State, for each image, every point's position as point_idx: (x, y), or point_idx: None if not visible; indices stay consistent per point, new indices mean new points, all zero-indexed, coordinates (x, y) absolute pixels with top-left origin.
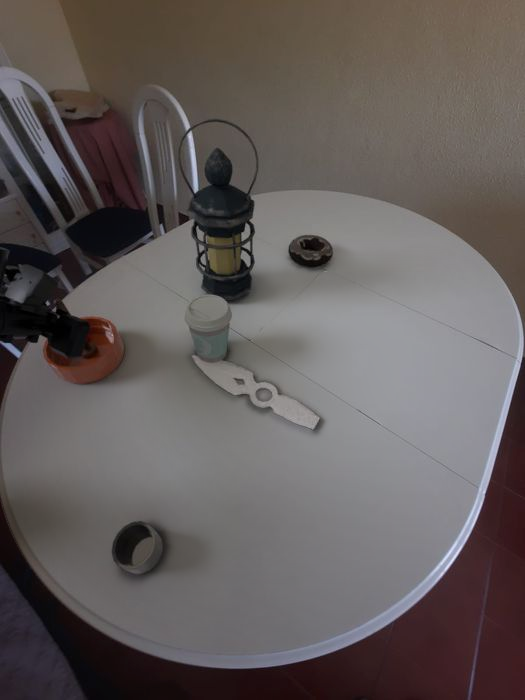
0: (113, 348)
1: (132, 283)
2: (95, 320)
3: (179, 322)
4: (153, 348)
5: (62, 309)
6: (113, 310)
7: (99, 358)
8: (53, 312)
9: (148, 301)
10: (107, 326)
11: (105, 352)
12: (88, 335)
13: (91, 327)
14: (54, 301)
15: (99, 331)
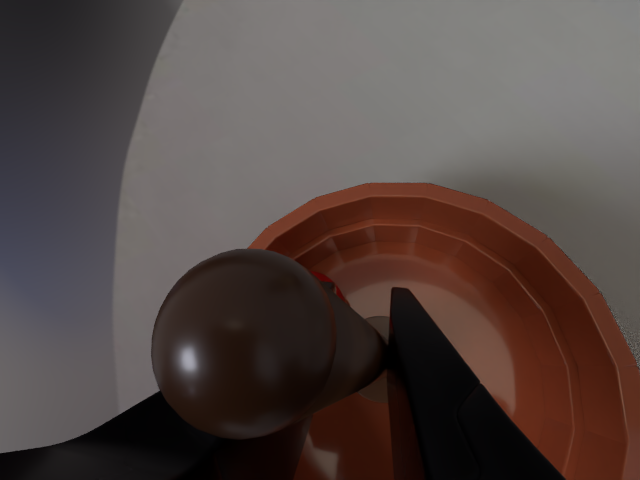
0: (629, 349)
1: (286, 15)
2: (341, 210)
3: (596, 64)
4: (612, 216)
5: (345, 377)
6: (304, 131)
7: (629, 472)
8: (218, 444)
9: (397, 45)
10: (406, 212)
11: (449, 329)
12: (339, 291)
13: (320, 245)
14: (179, 384)
15: (350, 243)
